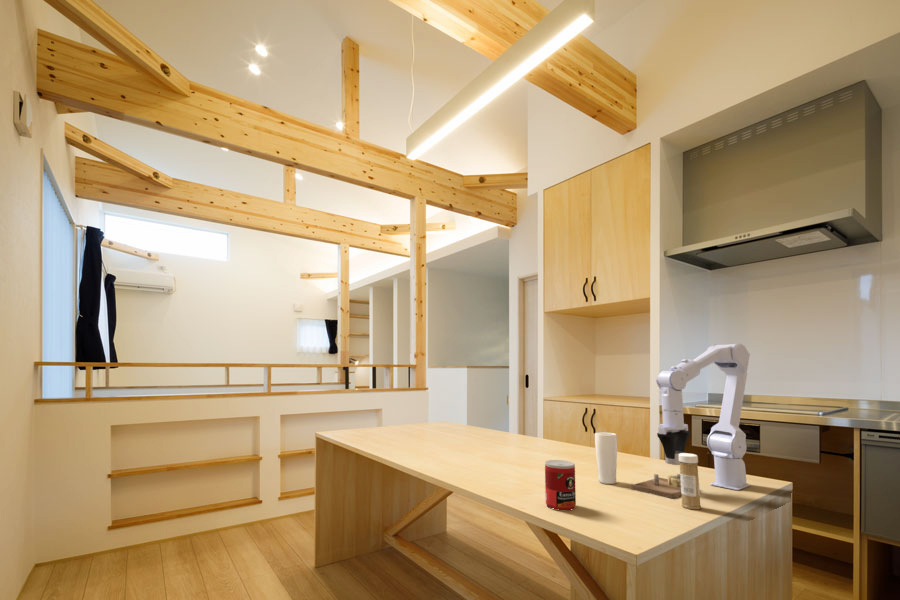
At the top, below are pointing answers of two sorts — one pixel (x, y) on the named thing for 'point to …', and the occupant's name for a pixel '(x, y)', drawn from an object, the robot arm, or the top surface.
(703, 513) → the top surface
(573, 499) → the canned food
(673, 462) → the loose gear
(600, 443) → the drinking glass
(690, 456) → the sprinkles bottle
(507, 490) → the top surface
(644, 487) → the gear board
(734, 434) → the robot arm
